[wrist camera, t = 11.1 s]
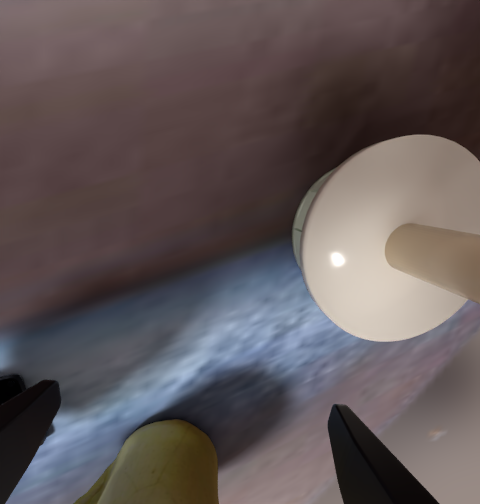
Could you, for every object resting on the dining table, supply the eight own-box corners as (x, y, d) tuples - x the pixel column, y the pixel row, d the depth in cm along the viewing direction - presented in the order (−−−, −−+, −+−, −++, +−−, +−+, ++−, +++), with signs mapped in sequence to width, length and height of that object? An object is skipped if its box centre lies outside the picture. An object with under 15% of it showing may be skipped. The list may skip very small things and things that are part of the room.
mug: (239, 412, 22) (221, 610, 14) (224, 468, 28) (205, 637, 19) (93, 386, 22) (-16, 567, 14) (105, 447, 28) (32, 606, 19)
